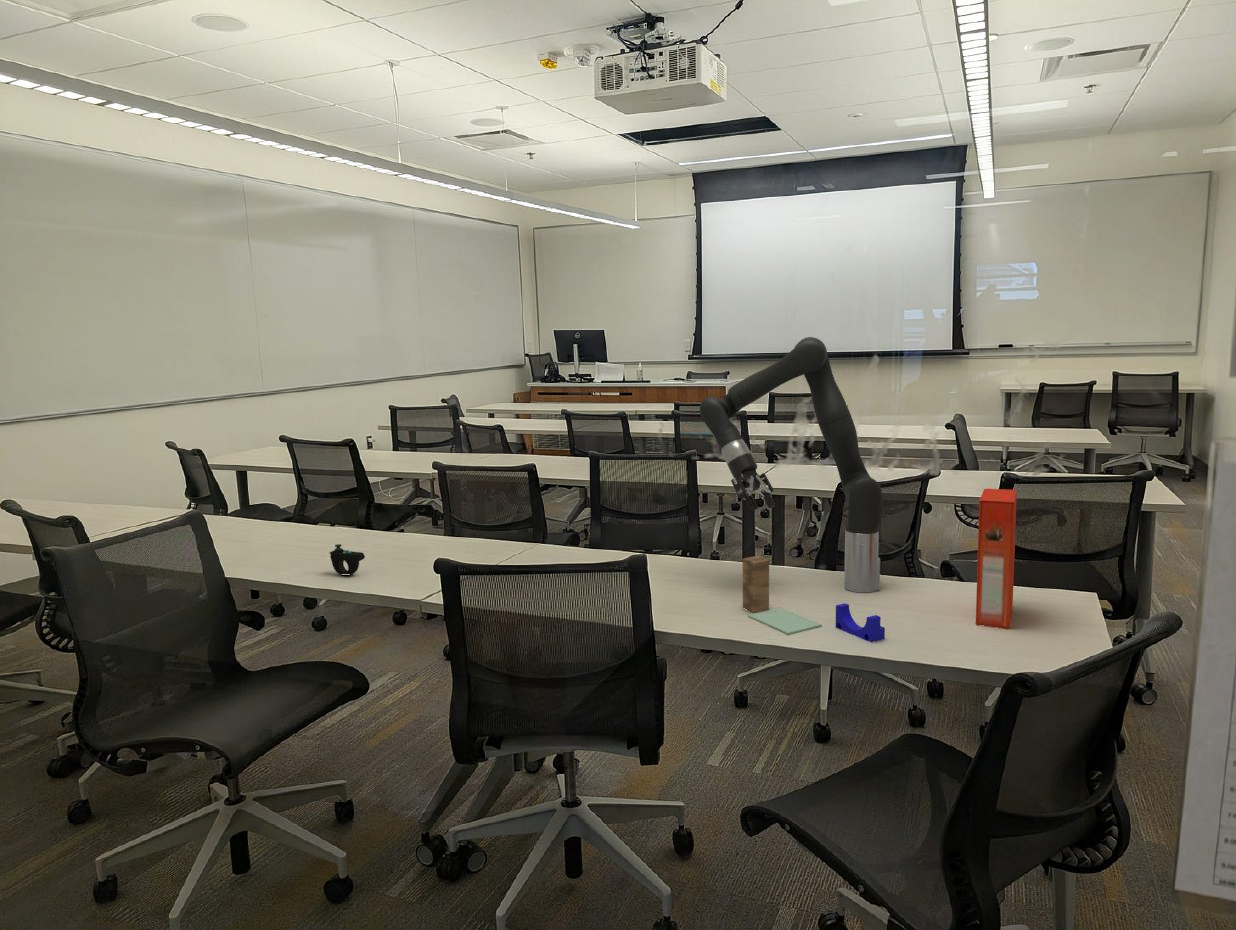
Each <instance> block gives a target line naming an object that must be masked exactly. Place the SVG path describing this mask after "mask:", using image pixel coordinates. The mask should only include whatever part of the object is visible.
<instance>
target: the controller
mask: <svg viewBox="0 0 1236 930" xmlns="http://www.w3.org/2000/svg"><path fill="white" fill-rule="evenodd" d="M334 547H335V549H333V550H332V551H330V552H329V554H330V561H331V564H332V567H333V568H332V569H334V571H335V572H336V573H337V574H338V575H340V574H352V575H354V574H355V573H356V572H357V571H358V569H359V566H360V561H363V560H364V559H365V558H366V556H365V554H364V552H361V551H352V550H344V549H343V548H341V547H342V544H341V543H340V544H335V545H334ZM344 562H345V563H346V564H347V569H346V567H345V565H344Z"/></svg>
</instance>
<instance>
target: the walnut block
mask: <svg viewBox="0 0 1236 930" xmlns="http://www.w3.org/2000/svg"><path fill="white" fill-rule="evenodd" d="M743 608H745V609H747V610H748V611H747V610H746V611H747V612H749V611H750V613H751V612H752V613H751V614H754V613H758V612H763V611H767V610H770V559H768V558H764V557H761V556H758V555H757V556H750V557H745V558H742V609H743ZM745 609H744V610H745Z"/></svg>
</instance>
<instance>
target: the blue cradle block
mask: <svg viewBox="0 0 1236 930" xmlns="http://www.w3.org/2000/svg"><path fill="white" fill-rule="evenodd" d="M881 618H882V617H881V616H880V615H877V614H875V615H871V616H866V621H865V624H864V626H860V625H859V624H857V623H856V621H855V620H854V618H853V617H852V613H851V611H850V604H847V603H841V604H837V605H835V629H838V630H840V631H843V632H845V633H848V634H850V635H851V636H854V635H855V637H857V638H859V639H861V640H864V641H866V642H868V641H870V642H869V643H874V642H873V641H875V642H878V641H882V640H885V639H886V638H885V636H886V635H885V634H886V633H885V632H886V628H885V626H881Z"/></svg>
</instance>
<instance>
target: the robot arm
mask: <svg viewBox="0 0 1236 930" xmlns="http://www.w3.org/2000/svg"><path fill="white" fill-rule="evenodd" d="M801 376H804V379H805V381H806V382H807V385H808V387H809V390H810V393H811V394H810V395H811V400H812V405H813V410H814V413H815V417H816V421H817V425H818V427H819V429H820V431H821V435H822V438H823V440H824V441H825V444H826V447H827V448H828V450H829V452H830V455H831V457H832V459H833V460H834V463H835V465H836V468H837V472H838V476H839V479H840V482H841V487H842V490H843V494H844V496H845V498H846V501H848V511H847V512H848V514H847V515H848V516H847V519H846V520H845V524H844V525H845V526H844V534H845V535H844V537H845V538H844V580H843V582H844V586H843V587H844V588H845V590H848V591H850V592H855V593H872V592H873V593H874V592H879V591H880V588H881V587H880V586H881V584H880V583H881V558H880V557H879V533H880V532H879V529H880V528H879V527H880V524H881V520H882V508H883V507H882V506H883V493H882V491H883V490H882V486H881V485H880V483H879V481H877V480H875V479H874V478H873V477H871V476H870V474H869V472H868V470H867V468H866V467H865V464H864V462H863V459H862V457H861V453H860V449H859V448H860V447H859V441H858V433H857V428H856V426H855V423H854V422H855V421H854V419H853V417H852V415H851V413H850V409H849V407H848V405H847V402H846V400H845V397H844V396H843V394H842V391H841V390H840V388H839V386H838V384H837V382H836V380H835V377H834V375H833V370H832V367H831V363H830V360H829V356H828V351H827V347H826V345H825V343H824V342H823V341H822V340H821V339H819V338H817V337H813V336H807V337H804V338H802V339H801V340H799V341H798V342H797V344H796V345H795V346H794V348H793V349H791V350H790V351H789V352H788V353H787V354H785V355H784V356H783V357H782V358H781V359H779V360H777V361H776V362H774V363H773V364H771V365H769V366H768V367H765V368H764V369H761V370H760V371H757V372H755V373H753V374H751V375H748V376H747V377H745V378H744V379H742V380H741V381H739V382H737V383H735V384H733V385H732V386H730V388H729V389H728V390H727V394H725V395H724V396H722V397H721V398H717V397H714V396H707V397H706V398H704V399H703V400H702V401H700V404H699V405H700V406H699V414H700V416H701V418H702V420H703V422H704V424H705V425H706V426H707V428H708V430H709V431H710V432H711V434H712V435H713V437H714V439H715V441H716V443H717V445H718V447H719V449H720V451H721V454H722V457H723V459H724V461H725V464H726V466H728V469H729V471H730V473H731V475H732V477H733V478H732V479H731V480H730V481H731V484H732V486H733V489H734V490H735V493H736V495H737V498H739V499H743V500H744V501H745V502H746V504H747V506H748V509H750V511H751V512H755V511H756V510H757V509H759V505H758V503H757V502H756V499H755V498H754V496H753V492H755V493H757V494H759V495H760V496H762V497H763V500H764V502H765V504H766V505H767V508H768V509H773V508H774V507H775V506H776V503H775V500H774V498H773V496H772V495H771V494H772V492H774V490H775V489H774V488H773V486H772V484H771V482H770V481H769V478H768V476H767V475H766V473H764V472H762V473H761V474H759V473H758V472H757V469H758V464H757V463H756V460H755V458H754V457H753V456H754V455H753V454H752V453H751V451H750V448H749V447H748V445H747V443H746V442H745V441H744V439H743V437H742V434H741V433H740V431H739V429H738V428H737V426H736V425H735V424H734V423H733V422H732V421H731V420H730V419H732V418H733V417H734V416H735V415H737V414H738V413H739V412H740V411H741V410H742V409H743V408H745V407H747V406H749V405H751V404H752V403H754V402H756V401H758V400H759V399H761V398H762V397H765V395H767V394H768V393H770V392H772V391H773V390H775V389H777V388H778V387H780V386H781V385H783V384H785V383H788V382H789V381H792V380H793V379H796V378H798V377H801Z"/></svg>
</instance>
